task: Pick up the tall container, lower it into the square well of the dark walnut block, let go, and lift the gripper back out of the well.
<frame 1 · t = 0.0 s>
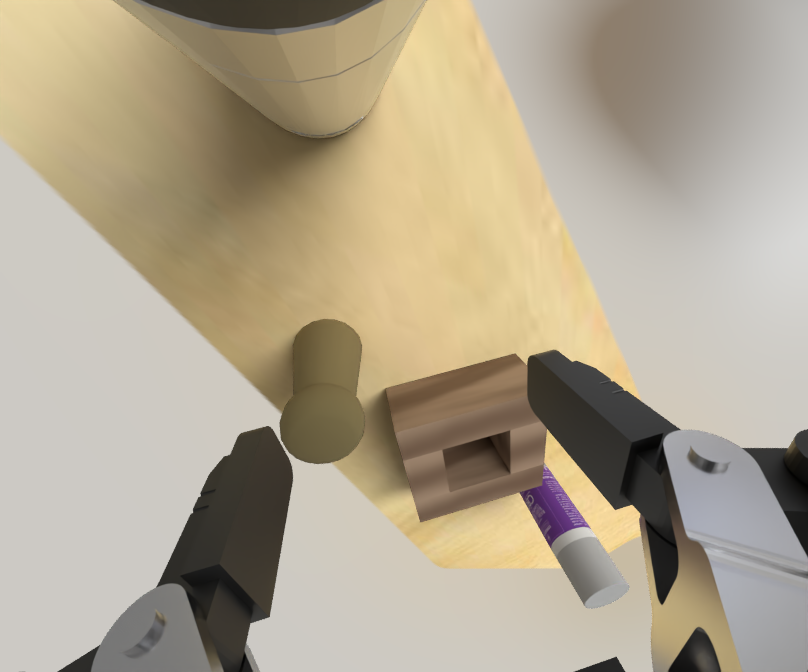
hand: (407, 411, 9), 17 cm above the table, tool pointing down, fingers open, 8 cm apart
cork: (328, 348, 27), on the table
well block: (457, 419, 34), on the table
container: (520, 459, 41), on the table
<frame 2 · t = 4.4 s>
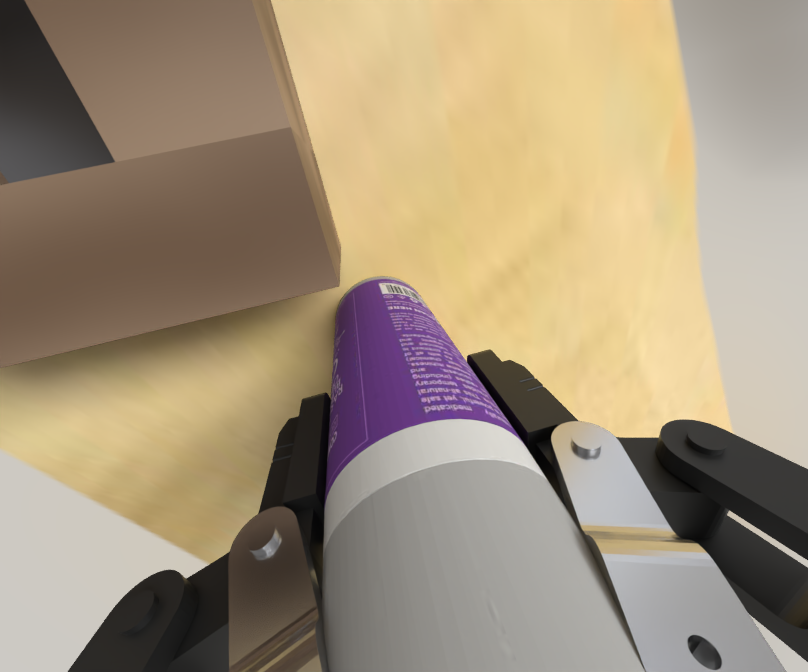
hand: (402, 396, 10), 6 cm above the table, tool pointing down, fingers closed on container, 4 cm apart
well block: (69, 80, 10), on the table
container: (381, 318, 16), on the table, touching gripper
when the fingers open (8 cm above the table, at t = 10.6 s): container stays where it is, resting on well block.
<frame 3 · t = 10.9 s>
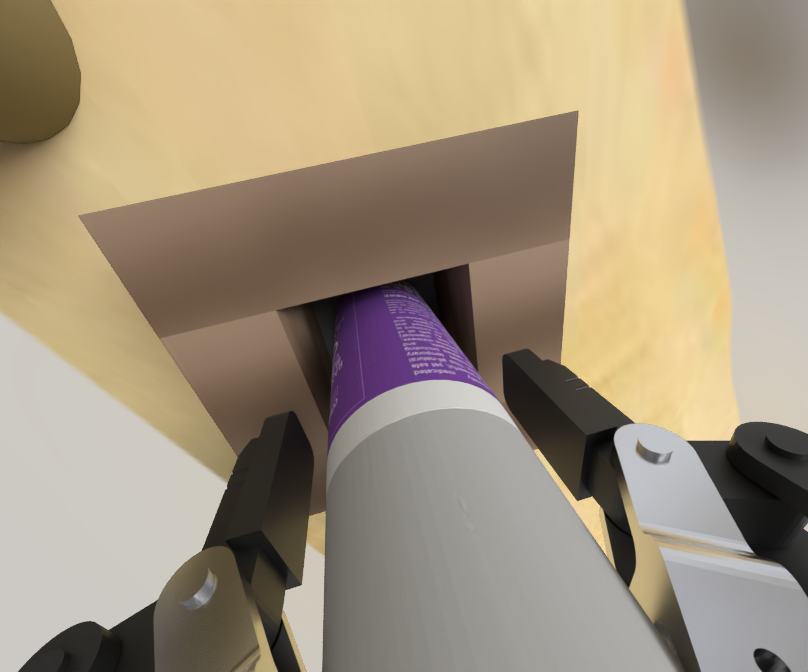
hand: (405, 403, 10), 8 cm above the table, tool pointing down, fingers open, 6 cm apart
well block: (378, 310, 17), on the table
container: (378, 310, 17), resting on well block
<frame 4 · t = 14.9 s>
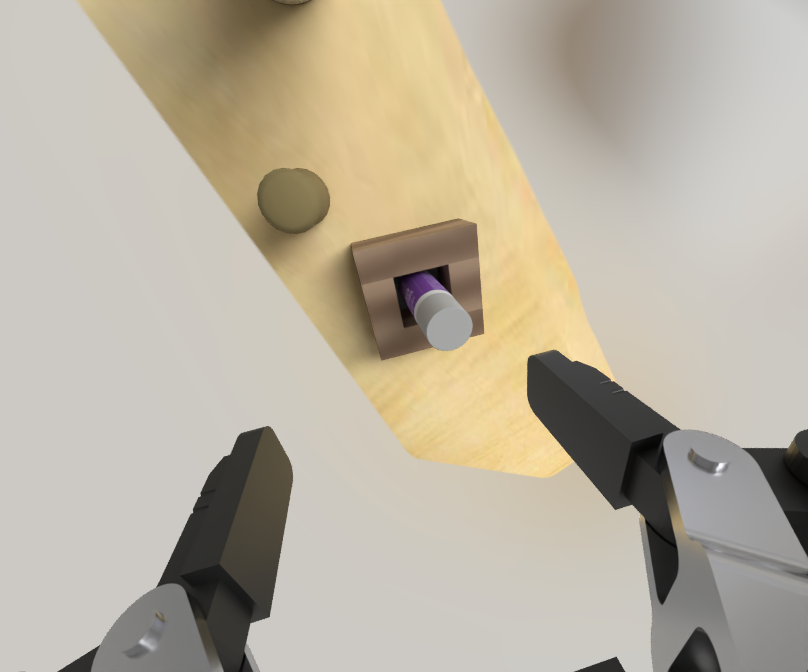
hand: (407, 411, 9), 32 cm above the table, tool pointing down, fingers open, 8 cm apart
cork: (303, 198, 35), on the table
well block: (414, 283, 41), on the table
container: (415, 283, 41), resting on well block
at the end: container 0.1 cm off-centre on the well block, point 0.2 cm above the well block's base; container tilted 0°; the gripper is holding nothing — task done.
